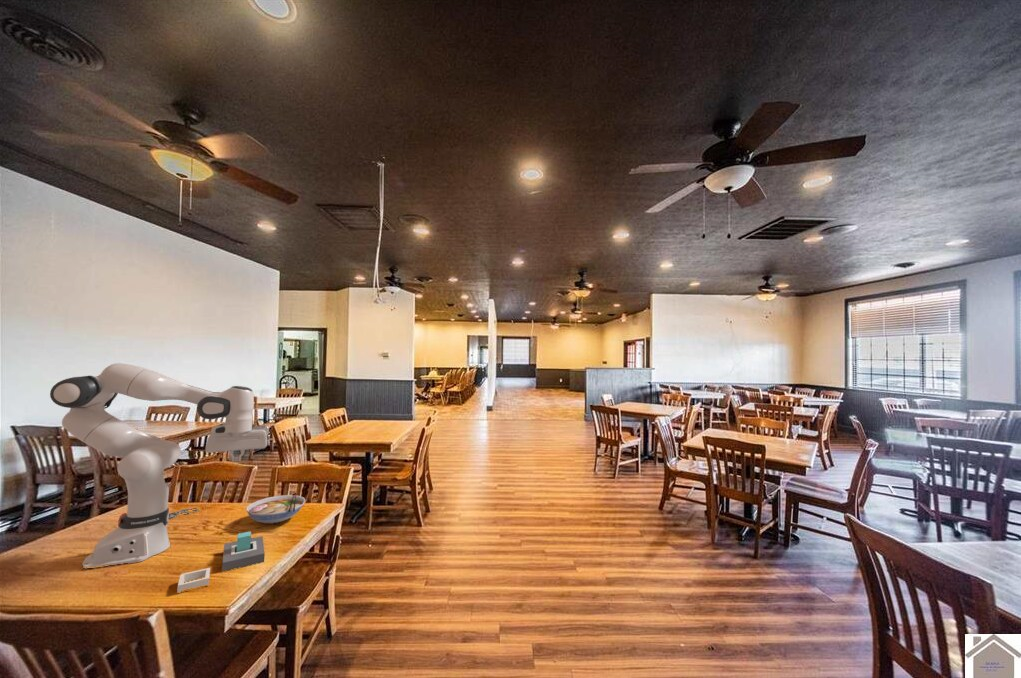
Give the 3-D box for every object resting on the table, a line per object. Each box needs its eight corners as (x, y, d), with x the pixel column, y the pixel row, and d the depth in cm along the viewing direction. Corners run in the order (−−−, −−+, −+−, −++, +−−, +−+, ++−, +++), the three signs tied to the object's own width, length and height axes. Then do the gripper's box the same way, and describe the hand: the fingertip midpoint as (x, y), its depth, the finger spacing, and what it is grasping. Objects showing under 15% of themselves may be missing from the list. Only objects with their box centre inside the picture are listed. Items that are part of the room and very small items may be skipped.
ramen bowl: (250, 514, 177) (251, 495, 177) (306, 507, 186) (307, 490, 187) (238, 536, 154) (240, 516, 155) (302, 527, 164) (303, 508, 164)
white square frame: (177, 594, 116) (177, 585, 117) (180, 582, 122) (180, 574, 123) (208, 586, 121) (208, 578, 121) (209, 575, 127) (210, 567, 127)
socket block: (222, 571, 129) (222, 561, 129) (223, 552, 142) (224, 542, 142) (264, 562, 136) (264, 552, 136) (262, 543, 149) (262, 535, 149)
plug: (236, 561, 136) (237, 538, 136) (236, 556, 139) (237, 533, 140) (249, 558, 138) (251, 535, 139) (249, 553, 142) (250, 531, 142)
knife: (138, 535, 152) (117, 531, 153) (137, 539, 152) (116, 535, 153) (204, 508, 180) (185, 506, 181) (203, 512, 180) (185, 509, 181)
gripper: (268, 423, 162) (266, 456, 161) (208, 427, 151) (204, 462, 150) (269, 426, 157) (267, 460, 156) (206, 429, 145) (203, 466, 145)
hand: (236, 461), depth 153 cm, fingers closed
